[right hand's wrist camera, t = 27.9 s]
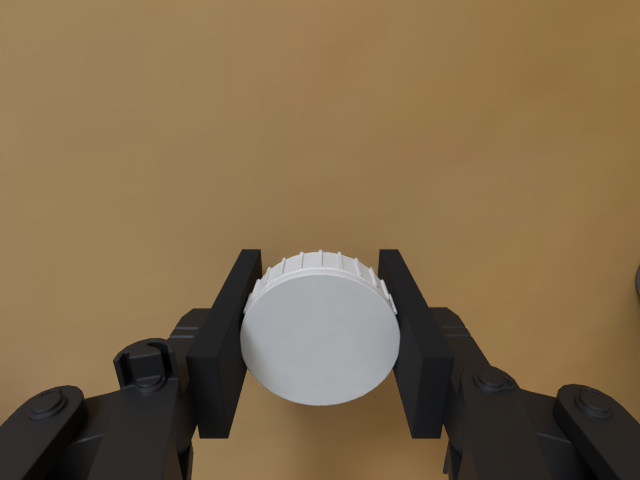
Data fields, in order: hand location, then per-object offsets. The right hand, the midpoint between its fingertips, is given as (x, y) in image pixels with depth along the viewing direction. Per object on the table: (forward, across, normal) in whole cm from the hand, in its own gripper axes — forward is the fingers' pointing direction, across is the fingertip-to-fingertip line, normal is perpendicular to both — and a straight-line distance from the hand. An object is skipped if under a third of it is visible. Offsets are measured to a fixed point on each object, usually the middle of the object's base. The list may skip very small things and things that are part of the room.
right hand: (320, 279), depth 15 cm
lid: (-4, 0, 0) cm, 4 cm away
